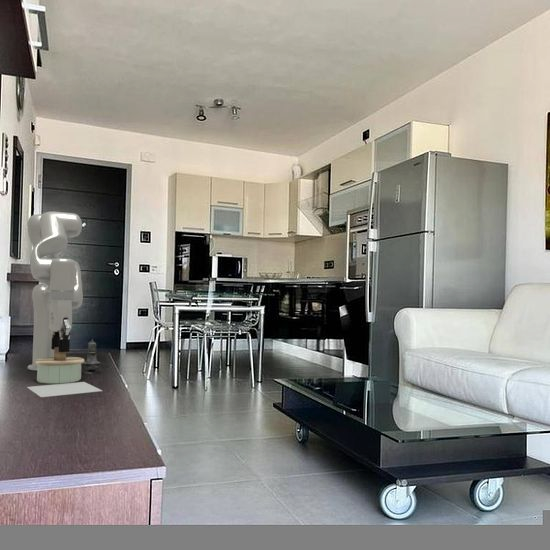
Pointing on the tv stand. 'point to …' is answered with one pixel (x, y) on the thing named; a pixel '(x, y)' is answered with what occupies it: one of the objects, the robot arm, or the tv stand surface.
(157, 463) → the tv stand surface
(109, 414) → the tv stand surface
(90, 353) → the salt shaker
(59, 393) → the mat
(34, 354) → the robot arm
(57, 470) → the tv stand surface
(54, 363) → the lid
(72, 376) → the bowl
